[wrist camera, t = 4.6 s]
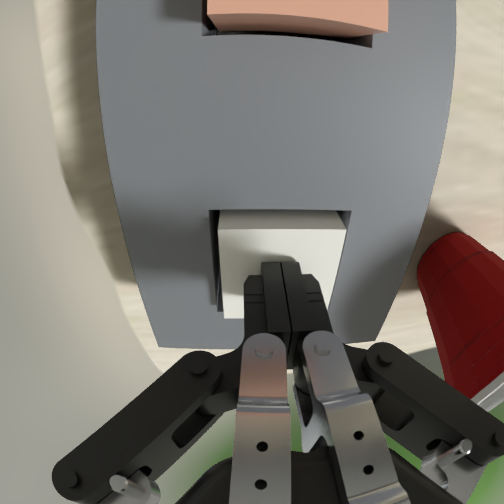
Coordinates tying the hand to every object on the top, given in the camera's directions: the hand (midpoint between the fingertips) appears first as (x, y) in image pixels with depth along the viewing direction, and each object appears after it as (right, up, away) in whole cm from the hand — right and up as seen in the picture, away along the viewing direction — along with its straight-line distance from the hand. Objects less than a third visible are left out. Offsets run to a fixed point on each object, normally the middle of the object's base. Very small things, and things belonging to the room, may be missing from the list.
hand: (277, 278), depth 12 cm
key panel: (0, +8, +1) cm, 8 cm away
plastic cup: (+14, 0, +8) cm, 16 cm away
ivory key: (0, +2, +3) cm, 4 cm away
